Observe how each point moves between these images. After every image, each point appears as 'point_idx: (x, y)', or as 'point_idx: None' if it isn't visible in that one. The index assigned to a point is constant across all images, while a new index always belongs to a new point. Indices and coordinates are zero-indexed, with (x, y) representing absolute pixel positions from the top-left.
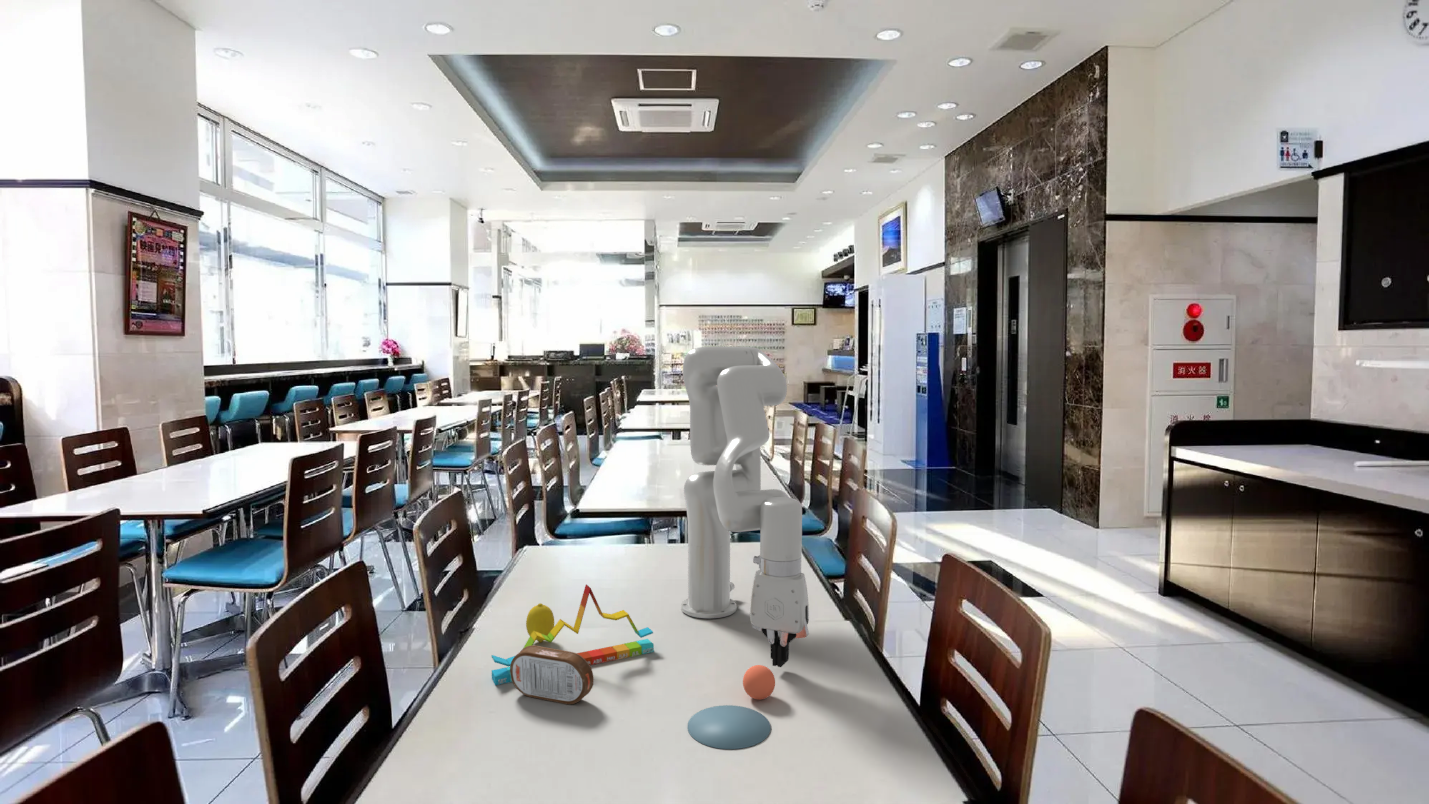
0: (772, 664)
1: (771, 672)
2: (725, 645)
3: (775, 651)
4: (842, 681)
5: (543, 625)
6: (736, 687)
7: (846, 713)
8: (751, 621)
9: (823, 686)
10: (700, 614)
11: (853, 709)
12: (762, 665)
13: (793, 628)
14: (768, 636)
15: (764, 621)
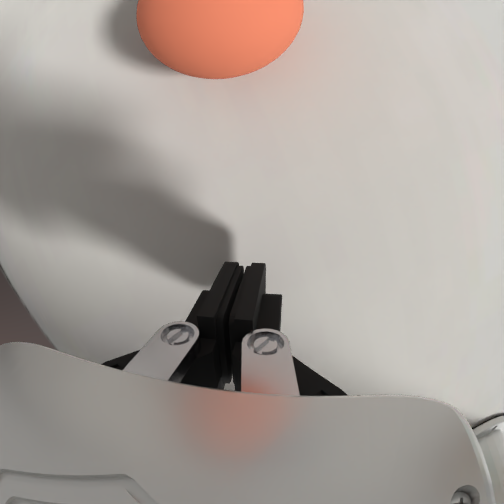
0: (264, 263)
1: (141, 19)
2: (457, 363)
3: (240, 299)
4: (73, 283)
5: None
6: (356, 74)
7: (16, 125)
8: (461, 416)
9: (88, 233)
10: (491, 425)
11: (12, 153)
12: (189, 3)
13: (8, 360)
14: (285, 363)
15: (300, 463)
